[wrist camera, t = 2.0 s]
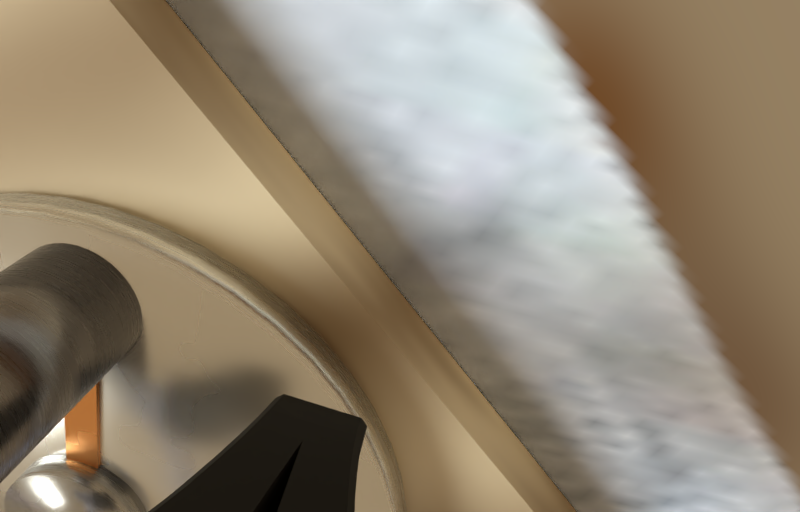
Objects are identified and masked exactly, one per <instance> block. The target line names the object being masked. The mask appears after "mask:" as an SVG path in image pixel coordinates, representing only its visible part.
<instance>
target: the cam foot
mask: <svg viewBox="0 0 800 512" xmlns="http://www.w3.org/2000/svg"><path fill="white" fill-rule="evenodd" d="M283 394H286V395H289V396H292V397H295V398H299V399H302V400H305V401H308V402H312V403H315V404H318V405H321V406H325V407H328V408H331V409H334V410H338V411H341V412H344V413H347V414H351V415H354V416H357V417H360V418H362V419H363V421H364V422H365V424H366V425H367V429H366V433H365V437H364V441H363V444H362V448H361V452H360V456H359V463H358V471H357V481H356V493H355V512H407V508H406V501H405V495H404V488H403V481H402V476H401V473H400V470H399V466H398V463H397V460H396V457H395V454H394V450H393V447H392V444H391V442H390V440H389V438H388V436H387V433H386V431H385V429H384V427H383V425H382V423H381V421H380V419H379V417H378V415H377V413H376V410H375V408H374V407H373V405H372V404H371V402H370V401H369V399H368V398H367V396H366V394H365V393H364V391H363V390H362V388H361V387H360V385H359V384H358V382H357V381H356V379H355V378H354V376H353V374H352V373H351V372H350V370H349V369H348V368H347V367H346V366H345V364H344V363H343V362H342V361H341V360H340V358H339V357H338V356H337V355H336V354H335V352H334V351H333V350H332V349H331V348H330V346H329V345H328V344H327V343H326V342H325V340H324V339H323V338H322V337H321V336H320V335H319V334H318V333H317V332H316V331H315V330H314V329H313V328H312V327H311V326H310V325H309V324H307V323H306V322H305V321H304V320H303V319H302V318H301V317H300V316H299V315H298V314H297V313H296V312H295V311H294V310H293V309H292V308H291V307H290V306H289V305H288V304H286V303H285V302H284V301H283V300H281V299H280V298H279V297H277V296H276V295H275V294H274V293H272V292H271V291H270V290H268V289H267V288H266V287H265V286H263V285H262V284H261V283H259V282H258V281H257V280H256V279H254V278H253V277H252V276H250V275H249V274H248V273H246V272H245V271H243V270H241V269H240V268H238V267H236V266H235V265H233V264H232V263H230V262H228V261H227V260H225V259H224V258H222V257H220V256H219V255H217V254H216V253H214V252H212V251H211V250H209V249H207V248H206V247H204V246H202V245H200V244H198V243H196V242H194V241H192V240H190V239H188V238H186V237H183V236H181V235H179V234H177V233H175V232H173V231H171V230H169V229H167V228H165V227H163V226H161V225H159V224H156V223H153V222H150V221H147V220H145V219H142V218H139V217H136V216H133V215H131V214H128V213H125V212H122V211H119V210H116V209H114V208H110V207H106V206H101V205H97V204H93V203H88V202H84V201H80V200H75V199H71V198H67V197H58V196H48V195H38V194H28V193H5V194H0V512H148V511H150V510H151V509H152V508H154V507H155V506H156V505H157V504H159V503H160V502H161V501H163V500H164V499H165V498H167V497H168V496H169V495H170V494H172V493H173V492H174V491H175V490H176V489H178V488H179V487H180V486H181V485H182V484H184V483H185V482H186V481H187V480H188V479H189V478H191V477H192V476H193V475H194V474H195V473H196V472H198V471H199V470H200V469H201V468H202V467H204V466H205V465H206V464H207V463H208V462H209V461H211V460H212V459H213V458H214V457H215V456H216V455H217V454H219V453H220V452H221V451H222V450H223V449H224V448H225V447H226V446H227V445H228V444H230V443H231V442H232V441H233V440H234V439H235V438H236V437H237V436H238V435H239V434H240V433H241V432H242V431H243V430H245V429H246V428H247V427H248V426H249V425H250V424H251V423H252V422H253V421H254V420H255V419H256V418H257V417H258V416H259V415H260V414H261V413H262V412H263V411H264V410H265V409H266V408H267V406H268V405H269V404H270V403H271V402H272V401H273V400H274V399H275V398H276V397H278V396H280V395H283Z"/></svg>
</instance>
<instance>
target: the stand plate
mask: <svg viewBox="0 0 800 512" xmlns="http://www.w3.org/2000/svg"><path fill="white" fill-rule="evenodd" d="M5 193H28V194H38V195H48V196H58V197H67V198H71V199H75V200H80V201H84V202H88V203H93V204H97V205H101V206H106V207H110V208H114V209H116V210H119V211H122V212H125V213H128V214H131V215H133V216H136V217H139V218H142V219H145V220H147V221H150V222H153V223H156V224H159V225H161V226H163V227H165V228H167V229H169V230H171V231H173V232H175V233H177V234H179V235H181V236H183V237H186V238H188V239H190V240H192V241H194V242H196V243H198V244H200V245H202V246H204V247H206V248H207V249H209V250H211V251H212V252H214V253H216V254H217V255H219V256H220V257H222V258H224V259H225V260H227V261H228V262H230V263H232V264H233V265H235V266H236V267H238V268H240V269H241V270H243V271H245V272H246V273H248V274H249V275H250V276H252V277H253V278H254V279H256V280H257V281H258V282H259V283H261V284H262V285H263V286H265V287H266V288H267V289H268V290H270V291H271V292H272V293H274V294H275V295H276V296H277V297H279V298H280V299H281V300H283V301H284V302H285V303H286V304H288V305H289V306H290V307H291V308H292V309H293V310H294V311H295V312H296V313H297V314H298V315H299V316H300V317H301V318H302V319H303V320H304V321H305V322H306V323H307V324H309V325H310V326H311V327H312V328H313V329H314V330H315V331H316V332H317V333H318V334H319V335H320V336H321V337H322V338H323V339H324V340H325V342H326V343H327V344H328V345H329V346H330V348H331V349H332V350H333V351H334V352H335V354H336V355H337V356H338V357H339V358H340V360H341V361H342V362H343V363H344V364H345V366H346V367H347V368H348V369H349V370H350V372H351V373H352V374H353V376H354V378H355V379H356V381H357V382H358V384H359V385H360V387H361V388H362V390H363V391H364V393H365V394H366V396H367V398H368V399H369V401H370V402H371V404H372V405H373V407H374V408H375V410H376V413H377V415H378V417H379V419H380V421H381V423H382V425H383V427H384V429H385V431H386V433H387V436H388V438H389V440H390V442H391V444H392V447H393V450H394V454H395V457H396V460H397V463H398V466H399V470H400V473H401V476H402V481H403V488H404V495H405V501H406V508H407V512H576V510H575V509H574V508H573V507H572V505H571V504H570V503H569V502H568V500H567V499H566V498H565V497H564V495H563V494H562V493H561V492H560V490H559V489H558V488H557V487H556V485H555V484H554V483H553V482H552V481H551V479H550V478H549V477H548V476H547V474H546V473H545V472H544V471H543V469H542V468H541V467H540V466H539V464H538V463H537V462H536V461H535V459H534V458H533V457H532V456H531V454H530V453H529V452H528V451H527V449H526V448H525V447H524V446H523V444H522V443H521V442H520V441H519V439H518V438H517V437H516V436H515V435H514V433H513V432H512V431H511V430H510V428H509V427H508V426H507V425H506V423H505V422H504V421H503V420H502V418H501V417H500V416H499V415H498V413H497V412H496V411H495V410H494V408H493V407H492V406H491V405H490V403H489V402H488V401H487V400H486V398H485V397H484V396H483V395H482V393H481V392H480V391H479V390H478V389H477V387H476V386H475V385H474V384H473V382H472V381H471V380H470V379H469V377H468V376H467V375H466V374H465V372H464V371H463V370H462V369H461V367H460V366H459V365H458V364H457V362H456V361H455V360H454V359H453V357H452V356H451V355H450V354H449V352H448V351H447V350H446V349H445V347H444V346H443V345H442V344H441V343H440V341H439V340H438V339H437V338H436V336H435V335H434V334H433V333H432V331H431V330H430V329H429V328H428V326H427V325H426V324H425V323H424V321H423V320H422V319H421V318H420V316H419V315H418V314H417V313H416V311H415V310H414V309H413V308H412V306H411V305H410V304H409V303H408V301H407V300H406V299H405V298H404V297H403V295H402V294H401V293H400V292H399V290H398V289H397V288H396V287H395V285H394V284H393V283H392V282H391V280H390V279H389V278H388V277H387V275H386V274H385V273H384V272H383V270H382V269H381V268H380V267H379V265H378V264H377V263H376V262H375V260H374V259H373V258H372V257H371V255H370V254H369V253H368V252H367V251H366V249H365V248H364V247H363V246H362V244H361V243H360V242H359V241H358V239H357V238H356V237H355V236H354V234H353V233H352V232H351V231H350V229H349V228H348V227H347V226H346V224H345V223H344V222H343V221H342V219H341V218H340V217H339V216H338V214H337V213H336V212H335V211H334V209H333V208H332V207H331V206H330V204H329V203H328V202H327V201H326V200H325V198H324V197H323V196H322V195H321V193H320V192H319V191H318V190H317V188H316V187H315V186H314V185H313V183H312V182H311V181H310V180H309V178H308V177H307V176H306V175H305V173H304V172H303V171H302V170H301V168H300V167H299V166H298V165H297V163H296V162H295V161H294V160H293V158H292V157H291V156H290V155H289V154H288V152H287V151H286V150H285V149H284V147H283V146H282V145H281V144H280V142H279V141H278V140H277V139H276V137H275V136H274V135H273V134H272V132H271V131H270V130H269V129H268V127H267V126H266V125H265V124H264V122H263V121H262V120H261V119H260V117H259V116H258V115H257V114H256V112H255V111H254V110H253V109H252V108H251V106H250V105H249V104H248V103H247V101H246V100H245V99H244V98H243V96H242V95H241V94H240V93H239V91H238V90H237V89H236V88H235V86H234V85H233V84H232V83H231V81H230V80H229V79H228V78H227V76H226V75H225V74H224V73H223V71H222V70H221V69H220V68H219V66H218V65H217V64H216V63H215V62H214V60H213V59H212V58H211V57H210V55H209V54H208V53H207V52H206V50H205V49H204V48H203V47H202V45H201V44H200V43H199V42H198V40H197V39H196V38H195V37H194V35H193V34H192V33H191V32H190V30H189V29H188V28H187V27H186V25H185V24H184V23H183V22H182V20H181V19H180V18H179V17H178V16H177V14H176V13H175V12H174V11H173V9H172V8H171V7H170V6H169V4H168V3H167V2H166V1H165V0H0V194H5Z"/></svg>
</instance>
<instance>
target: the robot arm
mask: <svg viewBox="0 0 800 512" xmlns="http://www.w3.org/2000/svg"><path fill="white" fill-rule="evenodd" d="M366 429H367V425H366V424H365V422H364V421H363V419H362V418H360V417H357V416H354V415H351V414H347V413H344V412H341V411H338V410H334V409H331V408H328V407H325V406H321V405H318V404H315V403H312V402H308V401H305V400H302V399H299V398H295V397H292V396H289V395H286V394H283V395H280V396H278V397H276V398H275V399H274V400H273V401H272V402H271V403H270V404H269V405H268V406H267V408H266V409H265V410H264V411H263V412H262V413H261V414H260V415H259V416H258V417H257V418H256V419H255V420H254V421H253V422H252V423H251V424H250V425H249V426H248V427H247V428H246V429H245V430H243V431H242V432H241V433H240V434H239V435H238V436H237V437H236V438H235V439H234V440H233V441H232V442H231V443H230V444H228V445H227V446H226V447H225V448H224V449H223V450H222V451H221V452H220V453H219V454H217V455H216V456H215V457H214V458H213V459H212V460H211V461H209V462H208V463H207V464H206V465H205V466H204V467H202V468H201V469H200V470H199V471H198V472H196V473H195V474H194V475H193V476H192V477H191V478H189V479H188V480H187V481H186V482H185V483H184V484H182V485H181V486H180V487H179V488H178V489H176V490H175V491H174V492H173V493H172V494H170V495H169V496H168V497H167V498H165V499H164V500H163V501H161V502H160V503H159V504H157V505H156V506H155V507H154V508H152V509H151V510H150V511H148V512H355V493H356V481H357V471H358V463H359V456H360V452H361V448H362V444H363V441H364V437H365V433H366Z"/></svg>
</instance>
